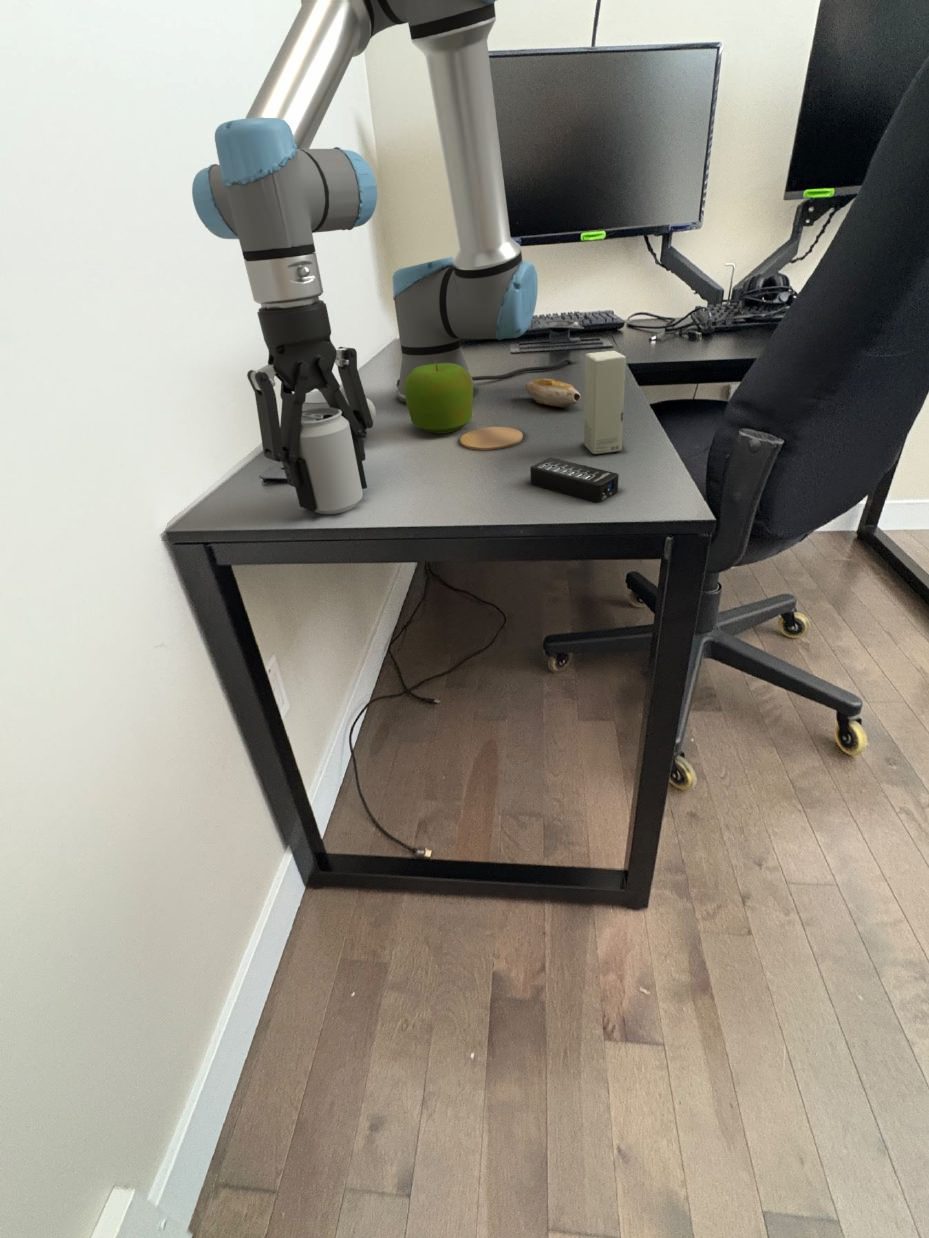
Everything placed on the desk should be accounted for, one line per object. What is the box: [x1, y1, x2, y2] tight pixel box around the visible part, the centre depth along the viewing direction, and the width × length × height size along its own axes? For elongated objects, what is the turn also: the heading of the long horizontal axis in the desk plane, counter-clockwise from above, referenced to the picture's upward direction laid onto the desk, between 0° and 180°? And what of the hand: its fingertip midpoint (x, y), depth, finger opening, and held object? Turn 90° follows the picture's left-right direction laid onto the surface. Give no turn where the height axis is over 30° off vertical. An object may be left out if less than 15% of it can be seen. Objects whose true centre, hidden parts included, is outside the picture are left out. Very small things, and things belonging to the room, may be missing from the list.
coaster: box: [459, 426, 524, 451], centre depth 95 cm, size 10×10×1 cm
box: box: [583, 350, 627, 455], centre depth 84 cm, size 5×4×13 cm
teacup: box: [302, 387, 377, 422], centre depth 98 cm, size 14×11×8 cm
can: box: [298, 407, 364, 515], centre depth 76 cm, size 8×8×12 cm
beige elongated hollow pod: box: [524, 378, 582, 408], centre depth 107 cm, size 5×14×4 cm, turn 30°
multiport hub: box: [529, 457, 620, 503], centre depth 77 cm, size 4×11×2 cm, turn 45°
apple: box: [404, 361, 474, 434], centre depth 99 cm, size 11×11×11 cm
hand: (334, 496), depth 79 cm, fingers closed on can, 7 cm apart
